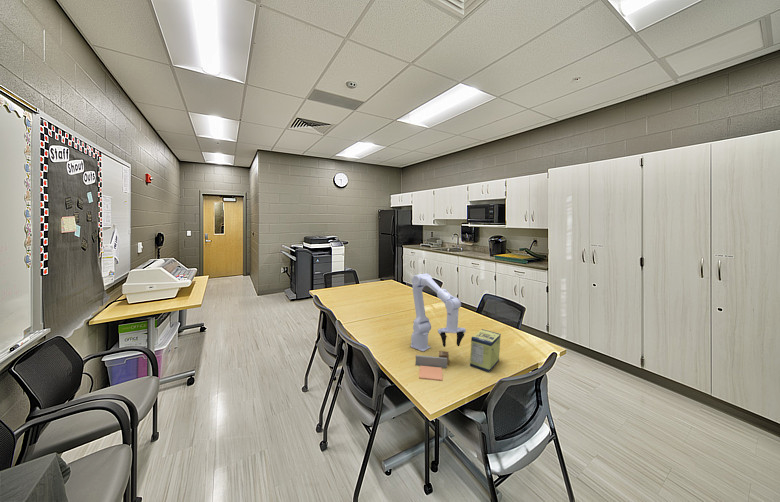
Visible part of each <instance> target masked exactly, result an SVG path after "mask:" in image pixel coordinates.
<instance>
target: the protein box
mask: <svg viewBox="0 0 780 502" xmlns="http://www.w3.org/2000/svg"><path fill="white" fill-rule="evenodd" d="M501 335H502V334H501V333H499V332H494V331H492V330H491V331H490V330H487V329H483V328H482V329H480V330H479V331H478V332H477V333H475V334H474V335H473V336H471V340H470V343H471V344H470V356H469V357H470V358H469V366H470V367H473V368H476V369H478V370H482V371H484V372H487V373H490V372H491V371H492V370H493V369H494V368H495V366H496V365H497V364H498V363H499V362H500V350H501V349H500V348H501Z"/></svg>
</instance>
